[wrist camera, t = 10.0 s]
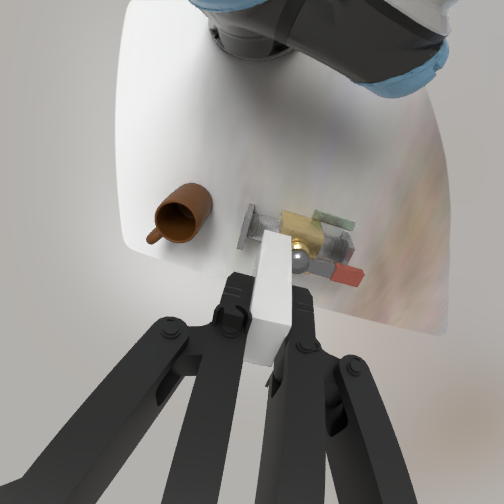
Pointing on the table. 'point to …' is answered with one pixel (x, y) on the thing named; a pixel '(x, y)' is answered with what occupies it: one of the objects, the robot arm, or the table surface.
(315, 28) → the robot arm
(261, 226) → the valve pipe
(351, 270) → the lever
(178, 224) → the mug
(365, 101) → the table surface
